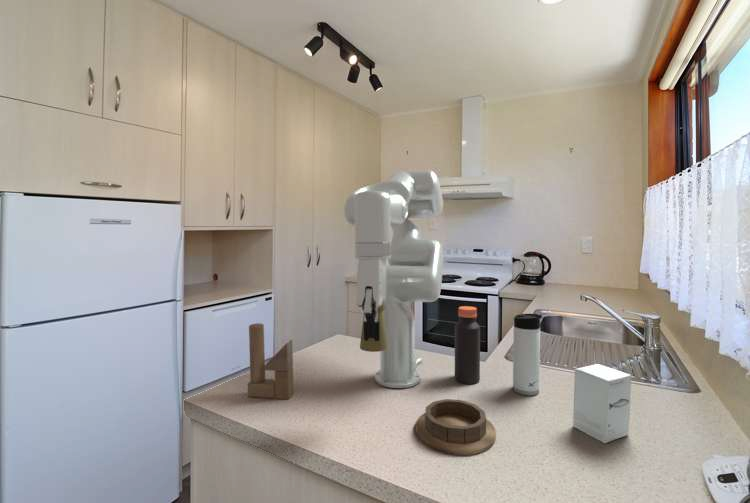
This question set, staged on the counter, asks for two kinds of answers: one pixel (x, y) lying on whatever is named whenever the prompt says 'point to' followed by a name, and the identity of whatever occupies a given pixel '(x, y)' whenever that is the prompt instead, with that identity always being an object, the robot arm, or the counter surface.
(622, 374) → the supplement box
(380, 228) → the robot arm
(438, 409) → the collar stand
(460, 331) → the bottle
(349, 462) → the counter surface
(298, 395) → the counter surface
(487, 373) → the counter surface
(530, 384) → the travel mug
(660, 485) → the counter surface
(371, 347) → the olive knobbed pestle
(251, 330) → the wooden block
